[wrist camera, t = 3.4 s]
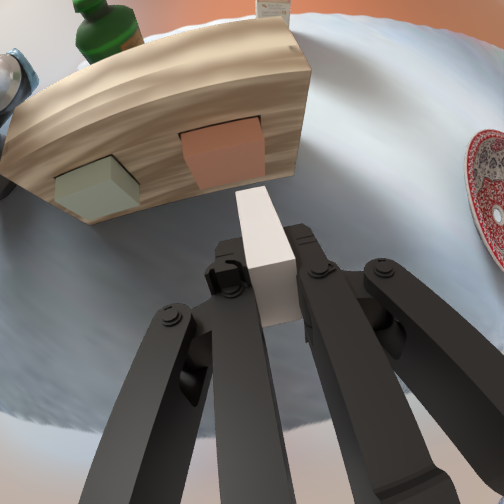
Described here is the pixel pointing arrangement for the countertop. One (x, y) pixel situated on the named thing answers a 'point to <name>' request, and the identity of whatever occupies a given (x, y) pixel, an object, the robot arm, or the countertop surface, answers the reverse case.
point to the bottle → (105, 29)
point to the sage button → (97, 189)
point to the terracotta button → (225, 152)
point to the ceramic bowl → (487, 188)
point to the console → (163, 110)
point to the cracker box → (273, 9)
